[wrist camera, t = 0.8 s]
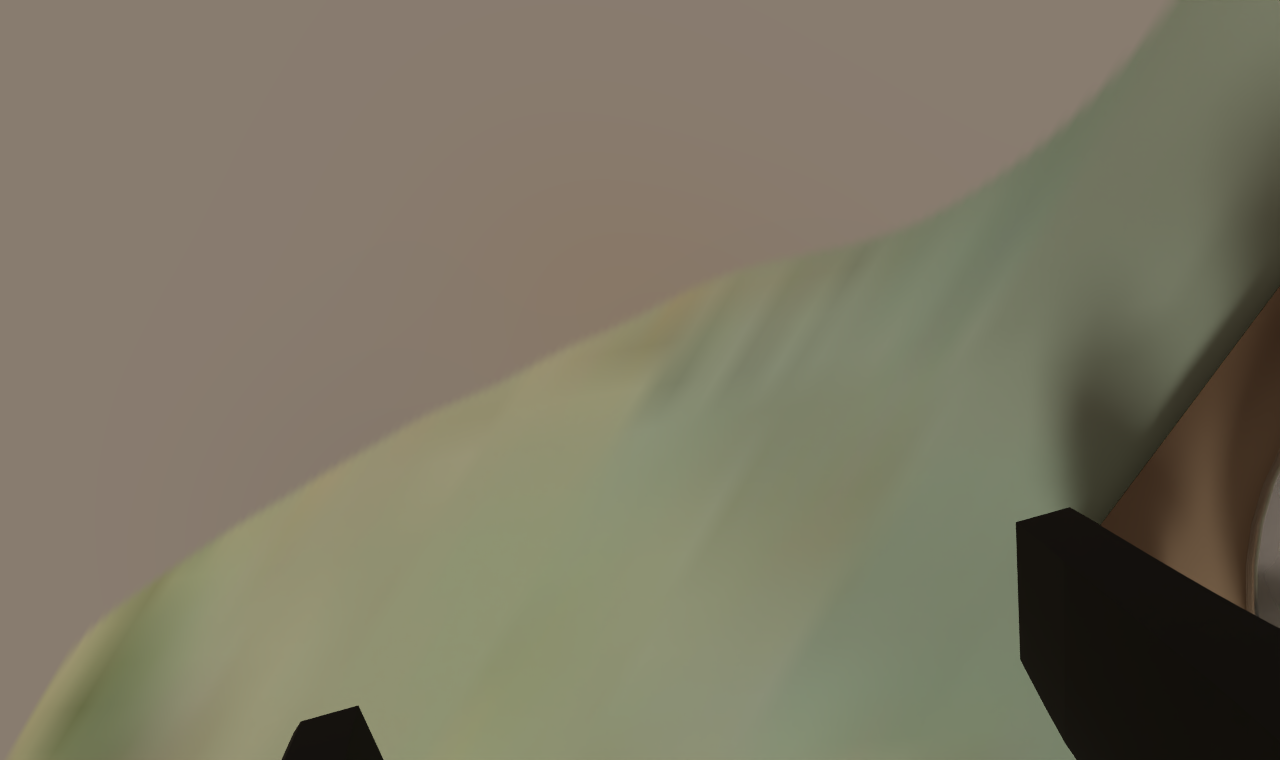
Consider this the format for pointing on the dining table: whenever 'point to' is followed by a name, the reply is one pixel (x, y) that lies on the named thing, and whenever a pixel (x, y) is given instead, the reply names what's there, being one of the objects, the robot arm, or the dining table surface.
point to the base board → (1212, 468)
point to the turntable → (1265, 551)
